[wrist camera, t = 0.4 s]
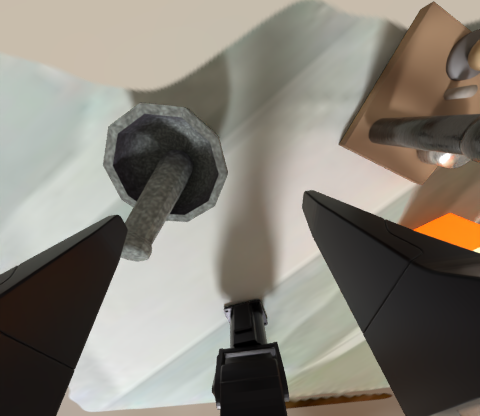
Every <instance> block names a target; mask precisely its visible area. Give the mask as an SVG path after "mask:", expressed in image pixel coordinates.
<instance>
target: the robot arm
mask: <svg viewBox="0 0 480 416" xmlns="http://www.w3.org/2000/svg"><path fill="white" fill-rule="evenodd" d="M302 209H303V212H304V215H305V217H306V220H307V223H308V226H309V228H310V231H311V233H312V236H313V238H314V240H315V242H316V244H317V246H318V248H319V250H320V252H321V253H322V255H323V257H324V259H325V261H326V263H327V265H328V267H329V269H330V271H331V273H332V275H333V277H334V279H335V280H336V282H337V284H338V286H339V288H340V290H341V292H342V294H343V296H344V298H345V300H346V302H347V304H348V306H349V308H350V309H351V311H352V313H353V315H354V317H355V319H356V321H357V323H358V325H359V327H360V329H361V331H362V333H364V334H363V335H364V337H365V339H366V341H367V343H368V344H369V346H370V348H371V350H372V352H373V354H374V356H375V358H376V360H377V362H378V364H379V366H380V368H381V370H382V372H383V373H384V375H385V377H386V379H387V381H388V383H389V385H390V387H391V389H392V391H393V393H394V395H395V397H396V398H397V400H398V402H399V404H400V406H401V408H402V410H403V412H404V414H405V416H480V253H478V252H475V251H472V250H469V249H466V248H463V247H460V246H457V245H454V244H452V243H449V242H446V241H443V240H440V239H437V238H434V237H431V236H428V235H426V234H423V233H420V232H417V231H414V230H412V229H409V228H406V227H404V226H401V225H399V224H396V223H393V222H391V221H389V220H384V219H383V218H381V217H378V216H376V215H374V214H371V213H369V212H366V211H364V210H361V209H359V208H356V207H354V206H351V205H349V204H346V203H344V202H341V201H339V200H336V199H334V198H331V197H329V196H326V195H324V194H321V193H319V192H316V191H314V190H310V191H305V192H304V195H303V204H302ZM127 233H128V229H127V227H126V225H125V223H124V222H123V220H122V218H121V217H120V216H119V215H111V216H108V217H106V218H104V219H102V220H100V221H99V222H97V223H95V224H93V225H91V226H89V227H88V228H86V229H84V230H82V231H80V232H78V233H76V234H75V235H73V236H71V237H69V238H67V239H65V240H64V241H62V242H60V243H58V244H56V245H54V246H53V247H51V248H49V249H47V250H45V251H43V252H41V253H40V254H38V255H36V256H34V257H32V258H30V259H29V260H27V261H25V262H23V263H21V264H20V265H19V266H16V267H14V268H12V269H10V270H8V271H6V272H5V273H3V274H1V275H0V416H56V415H57V412H58V410H59V407H60V405H61V402H62V400H63V398H64V395H65V393H66V390H67V388H68V385H69V383H70V381H71V378H72V376H73V373H74V369H75V368H76V365H77V363H78V361H79V358H80V356H81V353H82V351H83V348H84V346H85V343H86V341H87V339H88V336H89V334H90V331H91V329H92V326H93V324H94V322H95V319H96V317H97V314H98V312H99V309H100V307H101V304H102V302H103V300H104V297H105V295H106V292H107V290H108V287H109V285H110V282H111V280H112V278H113V275H114V273H115V270H116V268H117V265H118V263H119V260H120V257H121V254H122V250H123V247H124V243H125V240H126V236H127ZM224 313H225V315H226V317H227V319H228V321H229V323H230V348H228V349H223V348H222V349H219V355H218V356H217V365H216V373H215V377H214V381H213V385H212V393H213V395H214V396H215V400H216V406H217V409H218V410H220V416H287V411H286V406H285V402H286V401H289V392H288V386H287V381H286V376H285V371H284V367H283V363H282V359H281V355H280V352H279V348H278V344H277V342H273V343H269V344H267V339H266V333H265V327H264V326H265V325H267V324H268V322H267V319H266V316H265V313H264V310H263V307H262V304H261V301H260V300H254V301H250V302H245V303H241V304H237V305H233V306H229V307H225V308H224Z"/></svg>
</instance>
